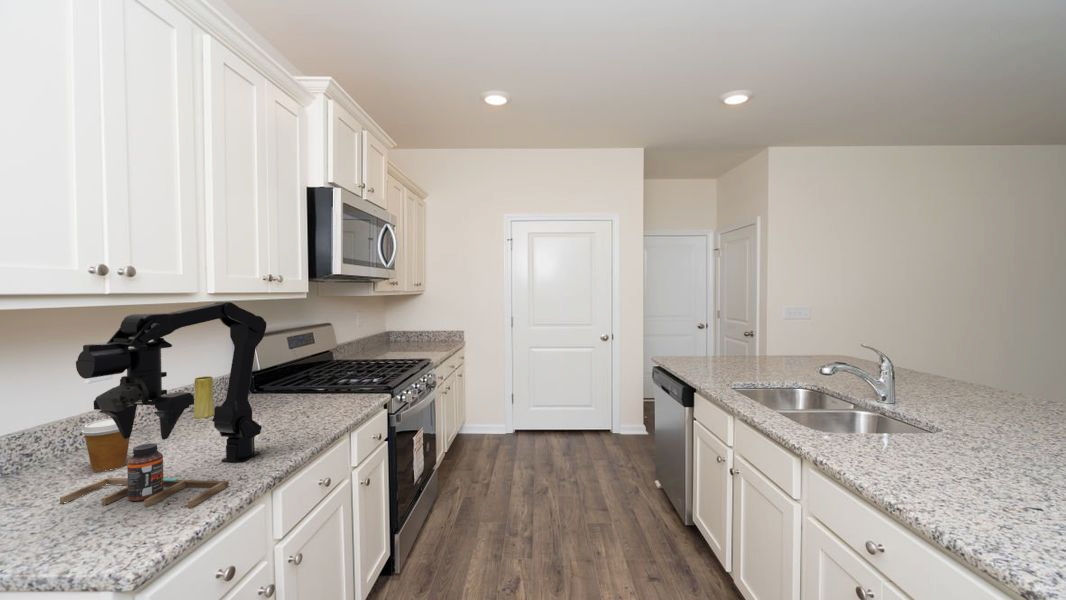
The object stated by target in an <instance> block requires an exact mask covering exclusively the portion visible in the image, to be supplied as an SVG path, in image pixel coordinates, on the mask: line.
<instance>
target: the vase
mask: <svg viewBox="0 0 1066 600" xmlns="http://www.w3.org/2000/svg"><path fill="white" fill-rule="evenodd" d="M213 388H214V387H213V376H210V375H209V376H199V377H196V378H194V404H193V405H194V410H193V418H194V419H203V418H209V417H214V414H215V404H214V393H213V392H214V391H213V390H214V389H213Z"/></svg>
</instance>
